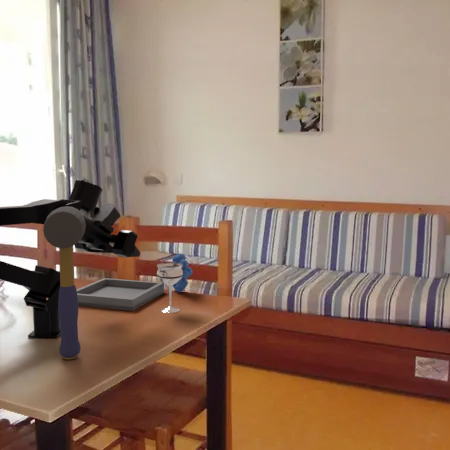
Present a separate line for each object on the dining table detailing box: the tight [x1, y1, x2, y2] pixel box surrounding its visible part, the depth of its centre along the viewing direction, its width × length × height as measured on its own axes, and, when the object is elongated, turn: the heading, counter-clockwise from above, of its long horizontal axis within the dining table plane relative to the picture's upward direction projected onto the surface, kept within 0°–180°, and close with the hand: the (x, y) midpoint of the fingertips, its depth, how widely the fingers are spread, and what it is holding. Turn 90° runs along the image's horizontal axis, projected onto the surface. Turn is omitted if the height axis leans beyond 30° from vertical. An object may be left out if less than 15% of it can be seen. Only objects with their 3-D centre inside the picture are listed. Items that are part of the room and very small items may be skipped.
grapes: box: [171, 253, 194, 293], centre depth 152 cm, size 12×7×12 cm, turn 24°
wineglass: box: [156, 262, 183, 314], centre depth 133 cm, size 7×7×12 cm
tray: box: [76, 277, 165, 312], centre depth 145 cm, size 20×20×3 cm
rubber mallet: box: [42, 206, 86, 361], centre depth 99 cm, size 12×8×30 cm, turn 13°
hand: (126, 252), depth 133 cm, fingers open, 9 cm apart
